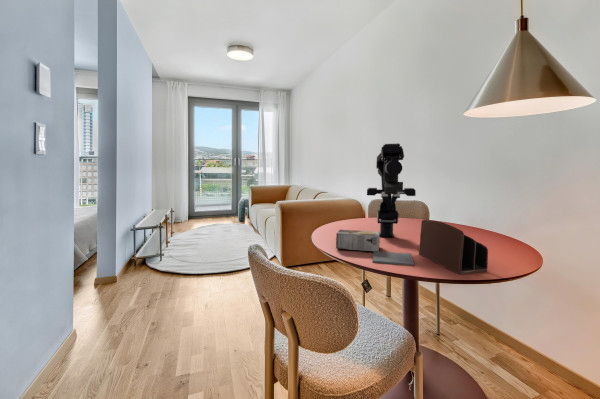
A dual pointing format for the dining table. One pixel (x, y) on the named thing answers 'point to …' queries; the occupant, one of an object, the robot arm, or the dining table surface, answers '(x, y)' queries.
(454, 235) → the letter holder
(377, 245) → the coffee box
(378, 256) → the mat
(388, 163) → the robot arm
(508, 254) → the dining table surface
